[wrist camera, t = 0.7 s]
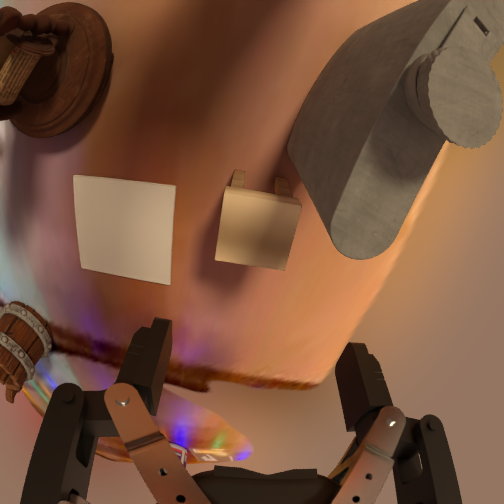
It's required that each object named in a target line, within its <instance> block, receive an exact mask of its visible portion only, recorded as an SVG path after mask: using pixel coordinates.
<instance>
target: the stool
mask: <svg viewBox="0 0 504 504" xmlns="http://www.w3.org/2000/svg"><path fill="white" fill-rule="evenodd" d="M244 178H245V171H240V170H235V171H234V175H233V179H232V183H231V187H230V186H226V189H225V192H224V199H223V205H222V212H221V219H220V226H219V233H218V240H217V248H216V255H215V260H218V261H225V262H231V263H237V264H244V265H250V266H257V267H263V268H270V269H276V270H283V271H285V267H286V264H287V260H288V257H289V253H290V249H291V246H292V242H293V238H294V234H295V231H296V227H297V223H298V219H299V216H300V212H301V208H302V205H301V203H300V200H299V199H298V198H293V196H292V193H291V191H290V188H289V185H288V182H287V179H285V178H280V177H276V180H275V184H274V189H275V194H271V193H266V192H260V191H254V190H248V189H243V186H244Z"/></svg>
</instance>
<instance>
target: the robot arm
mask: <svg viewBox="0 0 504 504" xmlns="http://www.w3.org/2000/svg"><path fill="white" fill-rule="evenodd" d="M171 350H172V320H168V319H162V318H157V317H155V318H154V321H153V323H152V326H151V328H147V327H141V328H140V329H139V330H138V331H137V332H136V333H135V334H134V336H133V338H132V341H131V343H130V346H129V348H128V352H127V353H126V356H125V359H124V361H123V364H122V367H121V369H120V372H119V375H118V377H117V380H116V382H115V383H114V384H113V385H112V386H110V387H109V388H108V389H105V390H102V391H82V389H81V388H80V387H79V386H77V385H76V384H73V383H64V384H61V385H59V386H58V387H57V388H56V389H55V390H54V392H53V394H52V397H51V399H50V402H49V405H48V407H47V410H46V413H45V416H44V419H43V422H42V424H41V427H40V431H39V434H38V437H37V440H36V443H35V446H34V450H33V453H32V457H31V460H30V464H29V467H28V471H27V475H26V479H25V483H24V487H23V492H22V497H21V502H20V504H90V503H89V502H87V501H86V497H87V492H88V486H89V481H90V475H91V470H92V465H93V460H94V455H95V451H96V447H97V442H98V438H99V437H113V436H120V437H121V439H122V441H123V443H124V445H125V447H126V449H127V451H128V453H129V455H130V457H131V459H132V460H133V462H134V464H135V466H136V468H137V470H138V471H139V473H140V475H141V476H142V478H143V480H144V482H145V483H146V485H147V487H148V488H149V489H150V492H151V493H152V495H153V496H154V498H155V500H156V501H157V503H156V504H374V503H375V501H376V499H377V497H378V495H379V493H380V491H381V489H382V487H383V485H384V483H385V481H386V479H387V477H388V475H389V473H390V471H391V469H392V468H393V474H394V481H395V488H396V495H397V501H398V504H462V500H461V495H460V490H459V485H458V481H457V477H456V472H455V468H454V464H453V460H452V456H451V452H450V449H449V445H448V441H447V438H446V435H445V431H444V428H443V425H442V423H441V421H440V420H439V418H437V417H436V416H434V415H425V416H424V417H423V418H422V419H421V420H417V419H413V418H408V417H405V415H404V414H403V412H402V411H401V410H400V409H399V408H397V407H394V406H393V403H392V400H391V397H390V394H389V391H388V388H387V385H386V382H385V380H384V376H383V373H382V370H381V367H380V364H379V362H378V361H377V359H376V358H375V357H374V356H373V354H369V353H368V350H367V348H366V345H365V344H364V343H351V342H349V343H348V344H347V345H346V347H345V349H344V351H343V352H342V354H341V356H340V358H339V360H338V361H337V363H336V367H335V376H336V380H337V385H338V390H339V395H340V399H341V404H342V409H343V414H344V419H345V424H346V430H347V432H351V431H355V432H356V436H355V437H354V439H353V440H352V442H351V444H350V445H349V447H348V449H347V451H346V452H345V454H344V456H343V457H342V459H341V460H340V462H339V463H338V465H337V466H336V468H335V469H334V470H333V471H332V472H331V473H330V474H329V476H328V477H325V476H322V475H319V474H317V469H293V470H289V471H284V472H280V473H275V474H271V475H265V474H261V473H257V472H254V471H250V470H247V469H243V468H237V467H225V466H216V465H215V467H214V470H211V471H205V472H201V473H198V474H195V475H193V476H191V475H190V474H189V473H188V471H187V470H186V468H185V467H184V465H183V464H182V462H181V461H180V459H179V458H178V456H177V455H176V453H175V451H174V450H173V448H172V447H171V445H170V444H169V442H168V440H167V439H166V437H165V436H164V435H163V434H161V433H160V431H159V430H158V428H157V426H156V425H155V423H154V421H153V419H152V417H151V416H150V415H153V416H156V413H157V409H158V404H159V400H160V396H161V392H162V388H163V384H164V380H165V376H166V372H167V368H168V364H169V360H170V356H171ZM418 454H420V459H421V464H422V468H421V464H420V459H419V455H418Z"/></svg>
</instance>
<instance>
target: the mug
mask: <svg viewBox="0 0 504 504" xmlns="http://www.w3.org/2000/svg"><path fill="white" fill-rule="evenodd" d="M52 341H53V339H52V333H51V331H50V329H49V327H48V326H46V322H45V321H44V319H43V318H42V317H41V316H40V315H39V314H38V313H37V312H36V311H35V310H34V309H32V308H31V307H29V306H28V305H26V306H25V305H24V303H21V302H19V301H14V302H11V303H10V304H6V305H5V306H4V307H3V308H2V310H1V311H0V383H2V384H3V385H4V384H5V385H6V400H7V401H8V402H10V403H14V397H15V395H16V393H17V392H19V391H20V390H21V389H22V386H23V383H24V382H25V381H28V380H32V376H33V375H34V372H35V368H34V366H35V365H36V363H37V362H38V360H39V359H40V358H43V357H47V356H48V353H49V352H50V350H51V348H52Z"/></svg>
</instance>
